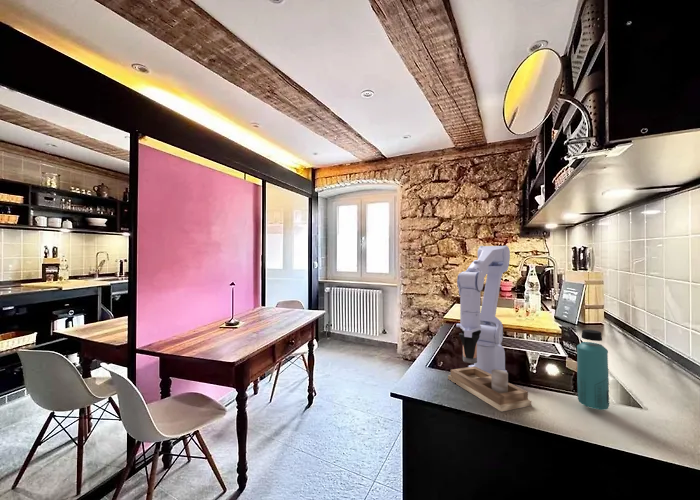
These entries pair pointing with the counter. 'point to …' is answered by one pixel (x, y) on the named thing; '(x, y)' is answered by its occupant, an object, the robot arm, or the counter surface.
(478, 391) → the socket holder
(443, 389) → the counter surface
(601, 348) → the beverage bottle
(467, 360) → the peach rounded capsule
